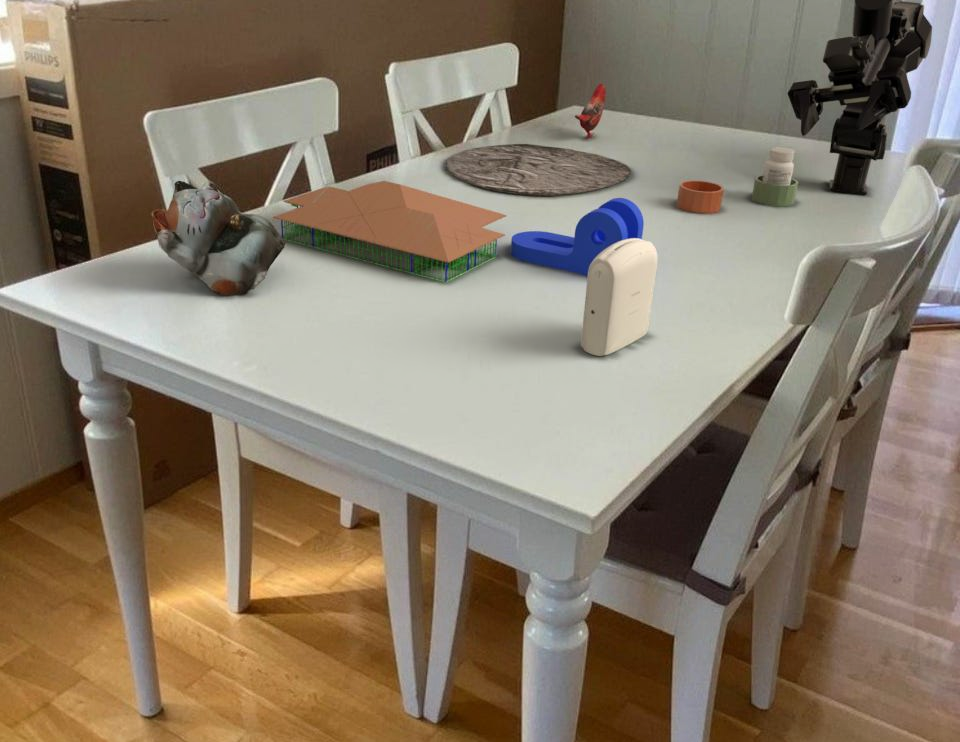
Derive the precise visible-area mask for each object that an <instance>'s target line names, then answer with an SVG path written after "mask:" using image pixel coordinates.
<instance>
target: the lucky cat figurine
mask: <svg viewBox="0 0 960 742" xmlns="http://www.w3.org/2000/svg"><path fill="white" fill-rule="evenodd" d="M150 213H151V218H152V219H153V221H152V222H153V224H152V225H153V228H154V232H155V233H156V235H157V242H158V244H157V245H158V247H159V248H160V249H161V250H162V251H163V252H164V253H165V254H166V255H167V256H168V258H170V259H171V260H173V261H174V262H175V263H177V264H179V266H181V267H182V268H183V269H186V270H187V271H189V272H190V273H191V274H193V276H195V277H197V278H198V279H199V280H200V281H202V282H203V283H205V285H206V286H207V287H208V288H209V289H210V290H211V291H212V292H214V293H215V294H218V295H221V296H222V297H224V296H239V295H240V296H245V295H247V294H248V293H249V292H250V291H253V290H255V289H256V287H258V286H259V285H260V284H262V283H263V282H264V281H265V280H266V278H267V277H266V276H267V275H268V272H269V270H270V267H271V266H272V265H273V263H274V262H275V261H276V259H277V258H278V257H279V255H280V254H281V253H282V251H283V250H284V249H285V246H286V244H287V240H285V239H286V238H285V237H284V236H283V237H282V235H280V233H279V232H278V230H277V228H276V227H275V225H274V224H273V223H272V222H271V221H270V220H268V219H266V218H265V217H263V216H261V215H259V214H253V213H249V214H248V213H241V212H240V208H239V207H238V205H237V203H236V202H234V201H233V199H232V198H231V197H229V196H228V195H226V194H223V193H222V192H219V188H218V187H217V185H216V183H214V182H213V181H212V180H208V181H205V182H204V184H203V185H202V186H201V188H198V187H195V186H192V185H191V184H189V183H188V182H186V181H182V180H177V181H175V182H174V190H173V194H172V198H171V200H170V203H169V206H168V208H167V210H166V208H163V209H157V208H156V209H154V210H152V211H151V212H150Z"/></svg>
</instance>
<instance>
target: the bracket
mask: <svg viewBox="0 0 960 742" xmlns="http://www.w3.org/2000/svg"><path fill="white" fill-rule="evenodd" d="M644 224H645V222H644V216H643V213H642V211H641V210H640V208H639V206H638V205H637V204H636V203H635V202H633V200H632V201H631V200H630V199H628V198H624V197H615V198H611V199H609V200H608V201H606V202H604V203H602V204H601V205H600V206H599V207H598V208H595V209H593V210H591V211H590V212H587V213H586V214H585V215H583V216H582V217H581V218H580V219H579V220H578V222H577V224H576V225H575V229H574V237H573V236H569V235H565V234H560V233H554V232H549V231H541V230H528V231H521V232H517V233H514V234H513V235H512V236H511V238H510V239H511V241H510V242H511V243H510V256H512V257H513V258H515V259H517V260H519V261H522V262H525V263H530V264H535V265H538V266H544V267H547V268H553V269H558V270H561V271H566V272H570V273H576V274H580V275H584V276H588V270H589V266H590V264H591V263H592V261H593V260H594V259H595V258H596V257H597V256H598V255H599V254H600V253H601V252H602V251H603V250H605V249H606V248H608V247H609V246H611V245H613V244H615V243H617V242H619V241H622V240H625V239H630V238H639V239H642V240H643V232H644Z"/></svg>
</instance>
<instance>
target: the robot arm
mask: <svg viewBox="0 0 960 742" xmlns="http://www.w3.org/2000/svg"><path fill="white" fill-rule="evenodd" d="M924 11H925V5H924V4H921V2H915V1H903V0H899V1H895V2H894V0H854V4H853V15H852V16H853V17H852V20H853V21H852V29H851V30H852V31H851V32H852V33H851V34H852V36H845V37H840V38H833V39H829V40H828V41H827V42H826V46H825V49H824V53H823V57H822V63H823V64H825V65H826V67H827V68H828V70H829V73H828V75H827V77H828V81H829V82H830V83H832V85H828V86H827V85H826V86H820V87H819V85H818V82H817V80H815V79H811V80H809V79H808V80H803V81H795V82H792V84H791V86H790V87H789V89H788V90H787V96H788V99H789V102H790V104H791V108H792V111H793V113H794V115H795V118H796V119H797V120H799V121H800V134H801V136H802V137H805V136H806V135H808V134H809V132H810V131H811V130H812V129H813V128H814V127H815V126H816V124H817V123H818V122H819V121H820V119H821V117H820V116H822V113H823V111H824V103H828V102H836V101H838V102H839V105H840V106H845V107H844V109H842V113H841V114H840V116H839V117H837V118H836V120H835V122H834V124H833V127H832V133H831V139H830V147H829V154H838V157H837V161H836V167H835V169H834V170H835V171H834V174H833V179H829V191H832V192H839V193H840V192H841V193H848V194H857V195H868V188H867V179H868V175H869V171H870V168H871V167H870V166H871V163H872V161H878V160H884V157H885V154H886V150H887V141H888V133H887V125H886V124H885V121H886V116H887V115H889V114H891V113H895V112H898V110H899V109H900V110H901V109H906V108H907V107H908V105H909V103H910V101H911V98H912V90H911V87H910V86H911V85H910V83H909V79H908V75H907V74H909V73H911V72H913V71H916V70H917V69H918V68H919V66H920V65H921V63H922V61H923V59H924V60H925V59H927V57H928V55H929V52H930V48H931V44H932V37H933V36H932V35H933V26H932V24H931V22H930V21H929V20H928V18H927V17H926V16H925V15H924V13H925V12H924ZM911 28H913V29H911Z"/></svg>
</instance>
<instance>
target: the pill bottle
mask: <svg viewBox="0 0 960 742" xmlns="http://www.w3.org/2000/svg"><path fill="white" fill-rule="evenodd" d="M794 155H795V150H793V149H792V148H788V147H776V146H775V147H771V148H770V150H769V154H768V158H769V159H767V160H766V162H765V165H764V171H763V174H762V175H763V180H762V182H764V183H768V184H773V185H790V182H791V178H793V177H792V176H793V173H794V167H795V165H794V162H793V160H794Z"/></svg>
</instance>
